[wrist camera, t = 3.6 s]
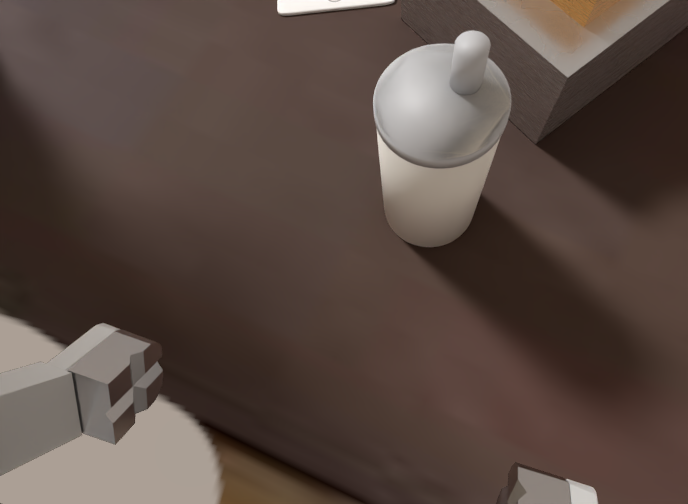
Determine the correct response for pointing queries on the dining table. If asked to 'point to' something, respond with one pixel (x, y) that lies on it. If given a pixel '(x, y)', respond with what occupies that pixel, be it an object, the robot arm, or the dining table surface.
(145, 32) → the dining table surface
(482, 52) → the spout can
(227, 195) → the dining table surface
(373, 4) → the cell phone
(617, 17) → the block
